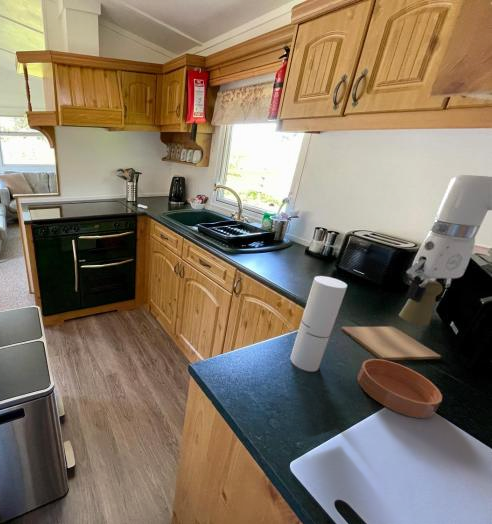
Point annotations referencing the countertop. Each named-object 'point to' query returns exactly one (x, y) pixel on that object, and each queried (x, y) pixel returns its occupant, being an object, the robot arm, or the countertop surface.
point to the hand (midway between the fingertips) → (422, 298)
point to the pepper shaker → (422, 305)
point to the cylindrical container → (317, 322)
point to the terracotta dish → (399, 388)
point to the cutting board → (390, 343)
